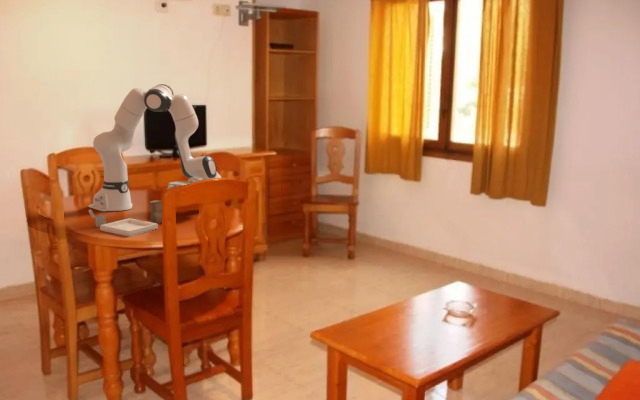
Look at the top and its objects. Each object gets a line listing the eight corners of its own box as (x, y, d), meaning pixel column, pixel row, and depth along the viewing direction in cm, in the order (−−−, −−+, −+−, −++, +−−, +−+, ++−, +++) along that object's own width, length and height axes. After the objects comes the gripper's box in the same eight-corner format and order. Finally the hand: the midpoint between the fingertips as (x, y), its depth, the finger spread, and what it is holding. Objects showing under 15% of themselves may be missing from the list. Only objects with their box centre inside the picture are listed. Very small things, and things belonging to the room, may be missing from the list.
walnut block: (150, 222, 274) (149, 201, 272) (157, 221, 277) (156, 200, 275) (156, 224, 272) (156, 202, 270) (163, 222, 275) (162, 201, 273)
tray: (100, 230, 259) (100, 225, 258) (129, 223, 272) (129, 218, 272) (129, 236, 250) (129, 231, 249) (158, 229, 263) (157, 223, 263)
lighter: (105, 225, 268) (104, 207, 266) (106, 225, 267) (105, 208, 265) (88, 226, 264) (87, 209, 263) (89, 227, 263) (88, 210, 261)
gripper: (180, 177, 298) (159, 181, 286) (211, 180, 288) (191, 185, 276) (180, 189, 299) (160, 194, 288) (211, 193, 289) (191, 198, 277)
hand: (175, 189), depth 282 cm, fingers open, 8 cm apart
